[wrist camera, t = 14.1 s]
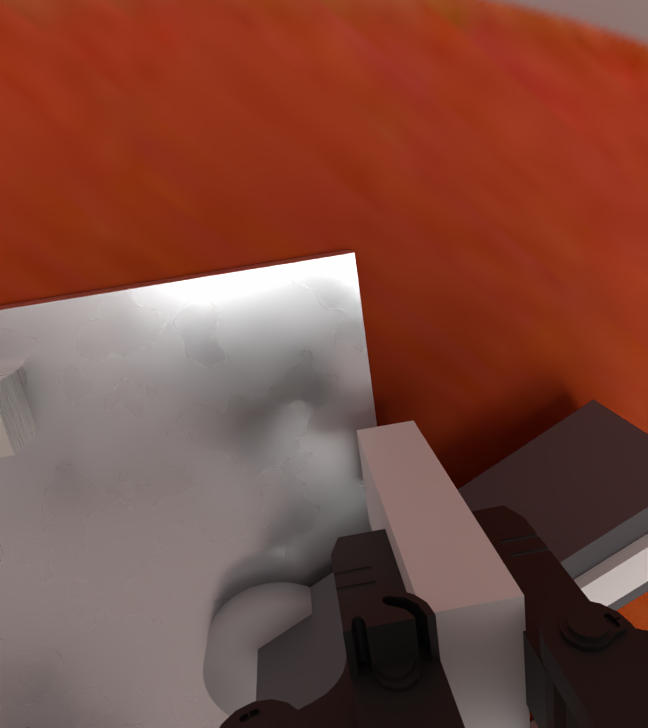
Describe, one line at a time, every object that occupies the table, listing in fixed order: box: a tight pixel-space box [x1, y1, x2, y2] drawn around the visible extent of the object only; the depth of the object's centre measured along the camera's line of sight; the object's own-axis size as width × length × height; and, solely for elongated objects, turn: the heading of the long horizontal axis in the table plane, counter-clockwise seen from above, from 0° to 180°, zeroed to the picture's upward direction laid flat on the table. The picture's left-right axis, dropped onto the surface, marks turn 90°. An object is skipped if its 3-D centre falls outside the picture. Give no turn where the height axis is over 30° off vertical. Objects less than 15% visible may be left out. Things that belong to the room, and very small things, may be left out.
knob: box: [203, 400, 648, 716], centre depth 15 cm, size 4×14×5 cm, turn 126°
